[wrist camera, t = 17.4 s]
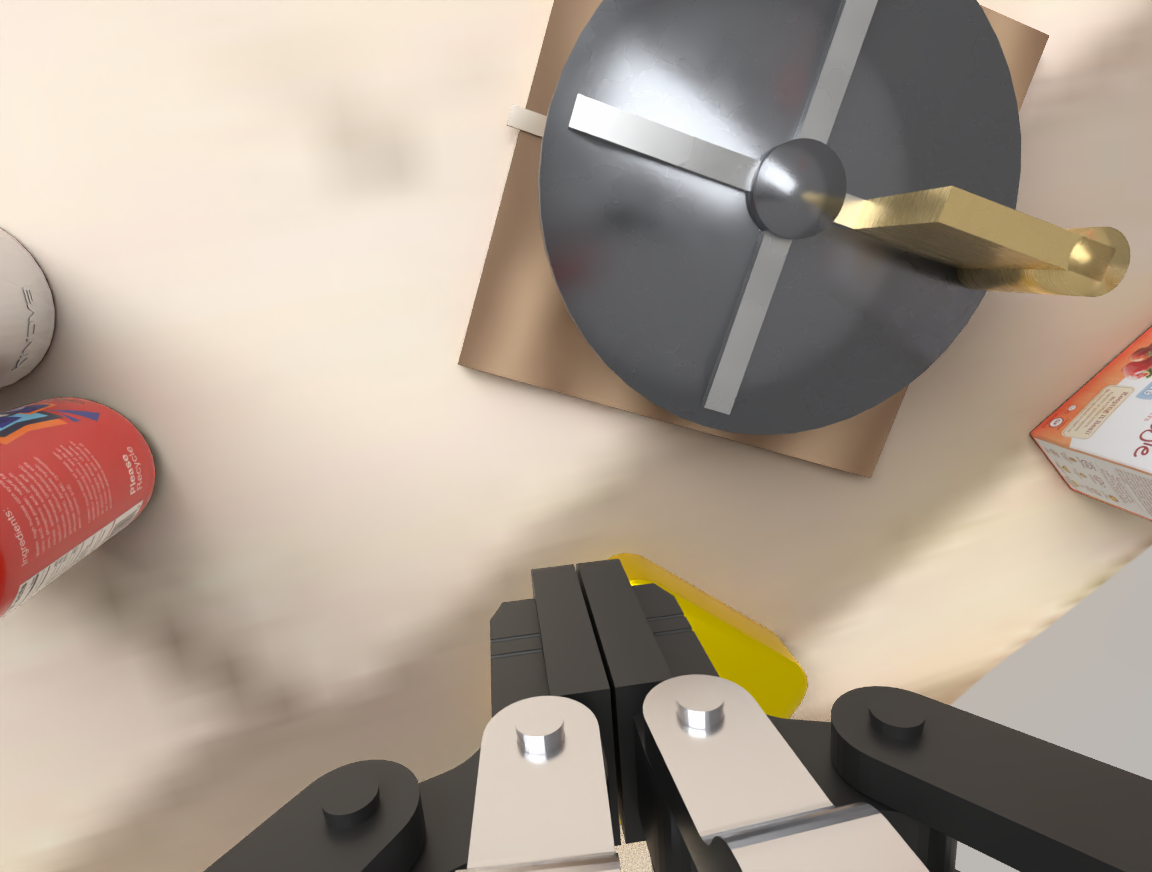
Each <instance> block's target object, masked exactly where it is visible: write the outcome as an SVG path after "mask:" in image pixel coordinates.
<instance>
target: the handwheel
mask: <svg viewBox="0 0 1152 872" xmlns="http://www.w3.org/2000/svg"><path fill="white" fill-rule="evenodd" d="M1020 171H1021V134H1020V124H1019V114H1018V105H1017V100H1016V96H1015V91H1014V87H1013V82H1012V78H1011V74H1010V70H1009V67H1008V64H1007V62H1006V59H1005V56H1004V53H1003V51H1002V48H1001V45H1000V42H999V40H998V38H997V36H996V34H995V32H994V30H993V28H992V26H991V24H990V22H989V20H988V18H987V16H986V14H985V13H984V11H983V9H982V7H981V6H980V5H979V3H978V2H977V0H603V1H602V2H601V4H600V5H599V7H598V8H597V10H596V11H595V13H594V14H593V16H592V17H591V19H590V20H589V22H588V23H587V25H586V26H585V28H584V29H583V31H582V32H581V34H580V35H579V37H578V39H577V41H576V43H575V45H574V47H573V49H572V51H571V53H570V55H569V58H568V60H567V62H566V64H565V66H564V68H563V70H562V72H561V75H560V77H559V80H558V83H557V86H556V89H555V92H554V95H553V98H552V100H551V103H550V106H549V109H548V113H547V118H546V122H545V127H544V132H543V137H542V141H541V146H540V158H539V170H538V206H539V220H540V226H541V232H542V238H543V244H544V250H545V253H546V257H547V260H548V263H549V267H550V270H551V273H552V277H553V280H554V283H555V285H556V287H557V290H558V292H559V294H560V296H561V299H562V301H563V303H564V305H565V308H566V310H567V312H568V314H569V315H570V317H571V318H572V320H573V322H574V323H575V325H576V327H577V328H578V330H579V332H580V333H581V335H582V337H583V338H584V339H585V341H586V342H587V343H588V344H589V346H590V347H591V348H592V349H593V350H594V352H595V353H596V354H597V355H598V357H599V358H600V359H601V360H602V362H603V363H605V364H606V365H607V366H608V367H609V368H610V369H611V370H612V371H613V372H614V373H615V374H616V375H617V376H618V377H619V378H620V379H621V380H622V381H624V382H625V383H626V384H627V385H628V386H629V387H631V388H632V389H634V390H635V391H636V392H638V393H639V394H641V395H642V396H643V397H645V398H646V399H648V400H649V401H650V402H652V403H653V404H655V405H657V406H659V407H661V408H663V409H665V410H666V411H668V412H670V413H672V414H674V415H676V416H678V417H680V418H683V419H686V420H688V421H691V422H694V423H697V424H700V425H702V426H705V427H709V428H713V429H718V430H723V431H728V432H732V433H741V434H755V435H774V434H790V433H797V432H802V431H807V430H813V429H818V428H822V427H825V426H828V425H831V424H834V423H837V422H840V421H843V420H846V419H849V418H851V417H853V416H856V415H858V414H860V413H862V412H864V411H866V410H868V409H870V408H873V407H875V406H876V405H878V404H880V403H881V402H883V401H884V400H886V399H888V398H889V397H891V396H892V395H894V394H896V393H897V392H899V391H900V390H902V389H903V388H904V387H906V386H907V385H908V384H909V383H911V382H912V381H913V380H914V379H915V378H917V377H918V376H919V375H920V374H922V373H923V372H924V371H925V370H926V369H927V368H928V367H929V366H930V365H931V364H932V363H933V362H934V361H935V360H936V359H937V358H938V357H939V356H940V355H941V354H942V353H943V352H944V351H945V350H946V349H947V348H948V347H949V345H950V344H951V343H952V342H953V340H954V339H955V338H956V337H957V335H958V334H959V333H960V332H961V330H962V329H963V328H964V326H965V325H966V324H967V322H968V321H969V319H970V318H971V316H972V314H973V313H974V311H975V310H976V308H977V306H978V305H979V303H980V302H981V300H982V298H983V297H984V295H985V293H986V291H1001V292H1018V293H1036V294H1053V295H1070V296H1087V297H1096V296H1101V295H1104V294H1106V293H1108V292H1110V291H1111V290H1113V289H1114V288H1115V287H1116V286H1117V285H1118V284H1119V283H1120V282H1121V280H1122V279H1123V277H1124V276H1125V274H1126V272H1127V269H1128V266H1129V262H1130V248H1129V244H1128V241H1127V239H1126V238H1125V236H1124V235H1123V234H1122V233H1121V232H1120V231H1118V230H1117V229H1115V228H1112V227H1090V228H1072V229H1063V228H1061V227H1058V226H1055V225H1053V224H1050V223H1048V222H1045V221H1042V220H1040V219H1037V218H1035V217H1032V216H1029V215H1027V214H1024V213H1022V212H1019V211H1016V210H1015V208H1016V203H1017V195H1018V187H1019V179H1020Z"/></svg>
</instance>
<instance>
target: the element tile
mask: <svg viewBox="0 0 1152 872" xmlns="http://www.w3.org/2000/svg"><path fill="white" fill-rule="evenodd" d="M611 559H620V561H621V564H622V566H623V568H624V570H625V572H626V575H627V577H628V579H629V581H630V584H631V586H634V585H642V584H649V583H655V584H656V585H658V586H659V587H661V588H662V589H664V590H665V591H667V592H669V593H670V594H672V595H673V596H674V597H675V599H676V600H677V602H678V604H679V606H680V607H681V609H682V611H683V613H684V617H686V618H687V620H688V622H689V623H690V625H691V627H692V631H694V632H695V634H696V636H697V638H698V639H699V641H700V643H701V645H702V646H703V648H704V650H705V652H706V654H707V655H708V657H709V659H710V661H711V662H712V664H713V666H714V668H715V670H716V671H717V673H718V675H719V677H720V678H723V679H727V680H729V681H731V682H734V683H736V684H737V685H739V686H741V687H742V688H744V689H745V690H746V691H747V692H749V694H750V695H751V696H752V697H753V698H754V699H755V701H756V702H757V703H758V705H759V706H760V707H761V709H762V710H763V711H764V713H765V714H767V715H770V716H774V717H779V718H785V719H789V718H790V717H791V715H792V714H793V713H794V711H795V710H796V709H797V707H798V706H799V705H800V704H801V702H802V700H803V698H804V696H805V693H806V690H807V687H808V683H807V676H806V674H805V672H804V670H803V669H802V667H801V666H800V665H799V663H798V662H797V661H796V659H795V658H794V657H793V656H792V654H791V653H790V652H789V651H788V649H787V648H786V647H785V646H784V644H783V643H782V642H781V640H780V639H779V638H778V637H777V636H776V635H775V634H774V633H773V632H772V631H770V630H768V629H766V628H765V627H763V626H761V625H759V624H758V623H756V622H754V621H753V620H751V619H749V618H747V617H746V616H744V615H742V614H741V613H739V612H737V611H735V610H734V609H732V608H730V607H728V606H727V605H725V604H723V603H722V602H720V601H718V600H716V599H715V598H713V597H711V596H710V595H708V594H706V593H704V592H703V591H701V590H699V589H697V588H696V587H694V586H692V585H691V584H689V583H687V582H685V581H684V580H682V579H680V578H679V577H677V576H675V575H673V574H672V573H670V572H668V571H667V570H665V569H663V568H661V567H660V566H658V565H656V564H654V563H653V562H651V561H649V560H648V559H646V558H644V557H642V556H640V555H636V554H629V553H622V554H618V555H614V556H612V557H611V558H609V559H608V560H611ZM619 824H621V821H620V817H619Z"/></svg>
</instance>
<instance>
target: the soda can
mask: <svg viewBox="0 0 1152 872" xmlns="http://www.w3.org/2000/svg"><path fill="white" fill-rule="evenodd" d="M154 485H155V465H154V460H153V456H152V453H151V451H150V448H149V446H148V444H147V442H146V441H145V439H144V438H143V436H142V435H141V433H140V432H139V431H138V430H137V428H136V427H135V426H134V425H133V424H132V423H131V422H130V421H128V420H127V419H126V418H125V417H124V416H122V415H121V414H119V413H118V412H116V411H115V410H113V409H111V408H109V407H107V406H105V405H102V404H100V403H97V402H94V401H91V400H87V399H81V398H73V397H60V398H51V399H45V400H41V401H37V402H34V403H30V404H27V405H24V406H21V407H17V408H14V409H11V410H8V411H5V412H1V413H0V620H1V619H2V618H3V617H5V616H6V615H7V614H9V613H10V612H12V611H13V610H14V609H16V608H17V607H18V606H20V605H21V604H22V603H24V602H25V601H26V600H28V599H29V598H30V597H32V596H33V595H34V594H36V593H37V592H39V591H40V590H41V589H43V588H44V587H45V586H47V585H48V584H49V583H51V582H52V581H53V580H55V579H56V578H57V577H59V576H60V575H62V574H63V573H64V572H66V571H67V570H68V569H70V568H71V567H72V566H74V565H75V564H76V563H78V562H79V561H80V560H82V559H83V558H84V557H86V556H87V555H89V554H90V553H91V552H93V551H94V550H95V549H97V548H98V547H99V546H101V545H102V544H103V543H105V542H106V541H107V540H109V539H110V538H111V537H113V536H114V535H116V534H117V533H118V532H120V531H121V530H122V529H124V528H125V527H126V526H127V525H129V524H130V523H131V522H132V521H134V520H135V519H136V518H137V517H138V516H139V515H140V513H141V512H142V511H143V510H144V508H145V507H146V506H147V504H148V502H149V500H150V498H151V496H152V493H153V490H154Z"/></svg>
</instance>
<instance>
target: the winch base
mask: <svg viewBox="0 0 1152 872" xmlns="http://www.w3.org/2000/svg"><path fill="white" fill-rule="evenodd" d="M602 1H603V0H554V3H553V7H552V11H551V15H550V18H549V22H548V26H547V30H546V34H545V37H544V41H543V45H542V49H541V52H540V56H539V60H538V64H537V68H536V71H535V75H534V79H533V83H532V86H531V90H530V94H529V98H528V102H527V105H526V109H525V108H522V107H519V106H516V105H513V104H512V107H511V111H510V114H509V118H508V122H507V126H510V127H513V128H516V129H519V130H520V132H519V136H518V139H517V143H516V147H515V151H514V154H513V158H512V162H511V166H510V170H509V173H508V177H507V181H506V185H505V189H504V192H503V196H502V200H501V204H500V207H499V211H498V215H497V219H496V223H495V226H494V230H493V234H492V238H491V241H490V245H489V249H488V253H487V257H486V260H485V264H484V268H483V272H482V275H481V279H480V283H479V287H478V291H477V294H476V298H475V302H474V306H473V309H472V313H471V317H470V321H469V325H468V328H467V332H466V336H465V340H464V343H463V347H462V351H461V355H460V359H459V362H458V365H462V366H466V367H469V368H473V369H476V370H480V371H484V372H487V373H491V374H495V375H498V376H502V377H505V378H509V379H513V380H516V381H520V382H524V383H527V384H531V385H534V386H538V387H542V388H545V389H549V390H553V391H556V392H560V393H564V394H567V395H571V396H574V397H578V398H582V399H585V400H589V401H593V402H596V403H600V404H603V405H607V406H611V407H614V408H618V409H622V410H625V411H629V412H632V413H636V414H640V415H643V416H647V417H651V418H654V419H658V420H661V421H665V422H669V423H672V424H676V425H680V426H683V427H687V428H690V429H694V430H698V431H701V432H705V433H709V434H712V435H716V436H719V437H723V438H727V439H730V440H734V441H738V442H741V443H745V444H748V445H752V446H756V447H759V448H763V449H767V450H770V451H774V452H778V453H781V454H785V455H788V456H792V457H796V458H799V459H803V460H807V461H810V462H814V463H817V464H821V465H825V466H828V467H832V468H836V469H839V470H843V471H846V472H850V473H854V474H857V475H861V476H865V477H868V478H871V476H872V474H873V471H874V469H875V466H876V464H877V462H878V459H879V457H880V454H881V452H882V449H883V447H884V444H885V442H886V439H887V437H888V434H889V432H890V429H891V427H892V424H893V422H894V419H895V417H896V414H897V412H898V409H899V407H900V405H901V402H902V400H903V397H904V395H905V392H906V390H907V387H908V385H909V384H908V385H907V386H906V387H904V388H903V389H902V390H900V391H899V392H897V393H896V394H894V395H892V396H891V397H889V398H888V399H886V400H884V401H883V402H881V403H880V404H878V405H876V406H875V407H873V408H870V409H868V410H866V411H864V412H862V413H860V414H858V415H856V416H853V417H851V418H849V419H846V420H843V421H840V422H837V423H834V424H831V425H828V426H825V427H822V428H818V429H813V430H807V431H802V432H797V433H790V434H774V435H755V434H741V433H732V432H728V431H723V430H718V429H713V428H709V427H705V426H702V425H700V424H697V423H694V422H691V421H688V420H686V419H683V418H680V417H678V416H676V415H674V414H672V413H670V412H668V411H666V410H665V409H663V408H661V407H659V406H657V405H655V404H653V403H652V402H650V401H649V400H648V399H646V398H645V397H643V396H642V395H641V394H639V393H638V392H636V391H635V390H634V389H632V388H631V387H629V386H628V385H627V384H626V383H625V382H624V381H622V380H621V379H620V378H619V377H618V376H617V375H616V374H615V373H614V372H613V371H612V370H611V369H610V368H609V367H608V366H607V365H606V364H605V363H603V362H602V360H601V359H600V358H599V357H598V355H597V354H596V353H595V352H594V350H593V349H592V348H591V347H590V346H589V344H588V343H587V342H586V341H585V339H584V338H583V337H582V335H581V333H580V332H579V330H578V328H577V327H576V325H575V323H574V322H573V320H572V318H571V317H570V315H569V314H568V312H567V310H566V308H565V305H564V303H563V301H562V299H561V296H560V294H559V292H558V290H557V287H556V285H555V283H554V280H553V277H552V273H551V270H550V267H549V263H548V260H547V257H546V253H545V250H544V244H543V238H542V232H541V226H540V220H539V206H538V170H539V158H540V146H541V141H542V137H543V132H544V127H545V122H546V118H547V113H548V109H549V106H550V103H551V100H552V98H553V95H554V92H555V89H556V86H557V83H558V80H559V77H560V75H561V72H562V70H563V68H564V66H565V64H566V62H567V60H568V58H569V55H570V53H571V51H572V49H573V47H574V45H575V43H576V41H577V39H578V37H579V35H580V34H581V32H582V31H583V29H584V28H585V26H586V25H587V23H588V22H589V20H590V19H591V17H592V16H593V14H594V13H595V11H596V10H597V8H598V7H599V5H600V4H601V2H602ZM980 6H981V5H980ZM981 7H982V9H983V11H984V13H985V14H986V16H987V18H988V20H989V22H990V24H991V26H992V28H993V30H994V32H995V34H996V36H997V38H998V40H999V42H1000V45H1001V48H1002V51H1003V53H1004V56H1005V59H1006V62H1007V64H1008V67H1009V70H1010V74H1011V78H1012V82H1013V87H1014V91H1015V96H1016V100H1017V105H1018V112H1019V110H1020V107H1021V105H1022V102H1023V100H1024V97H1025V95H1026V92H1027V90H1028V87H1029V85H1030V82H1031V80H1032V77H1033V75H1034V72H1035V70H1036V67H1037V65H1038V62H1039V60H1040V58H1041V55H1042V53H1043V50H1044V48H1045V45H1046V43H1047V40H1048V38H1049V35H1047V34H1045V33H1042V32H1040V31H1038V30H1036V29H1033V28H1031V27H1029V26H1027V25H1024V24H1022V23H1020V22H1018V21H1015V20H1013V19H1011V18H1009V17H1006V16H1004V15H1002V14H999V13H997V12H995V11H993V10H990V9H988V8H986V7H984V6H981Z"/></svg>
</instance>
